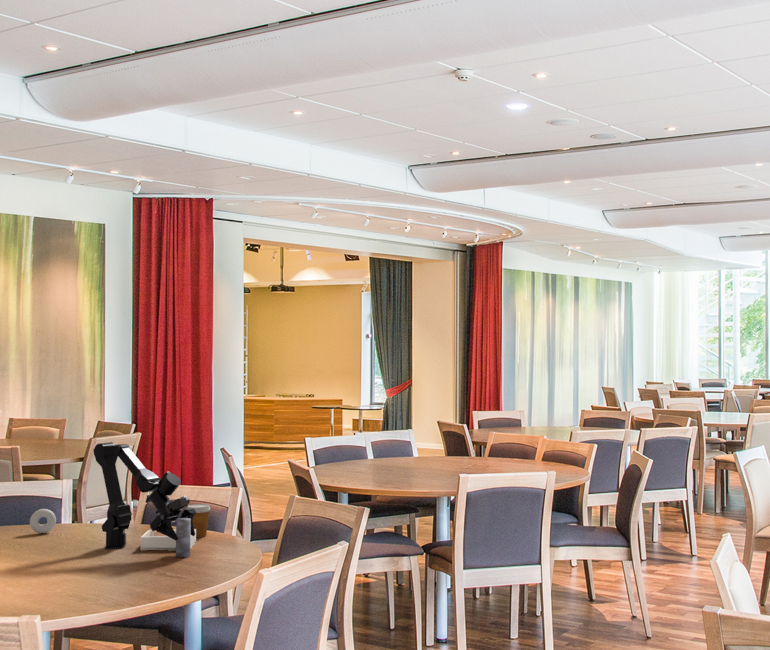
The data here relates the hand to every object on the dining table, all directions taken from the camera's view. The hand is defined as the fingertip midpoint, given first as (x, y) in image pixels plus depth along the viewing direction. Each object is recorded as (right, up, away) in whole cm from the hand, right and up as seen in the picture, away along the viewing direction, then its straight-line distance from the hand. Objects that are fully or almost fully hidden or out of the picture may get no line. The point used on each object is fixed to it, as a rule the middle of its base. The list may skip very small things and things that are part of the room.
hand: (185, 537), depth 300 cm
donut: (-68, -9, +43) cm, 81 cm away
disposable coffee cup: (-4, -9, +36) cm, 37 cm away
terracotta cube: (-13, -7, +17) cm, 22 cm away
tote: (-10, -8, +17) cm, 21 cm away
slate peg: (-1, -7, 0) cm, 7 cm away
